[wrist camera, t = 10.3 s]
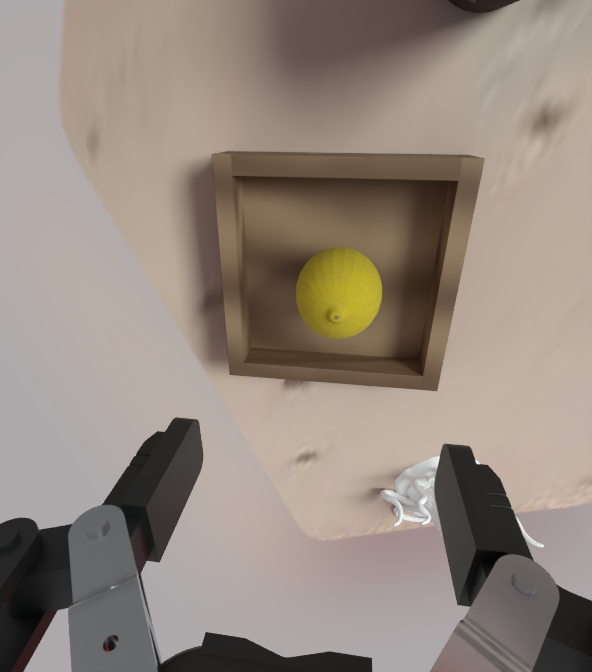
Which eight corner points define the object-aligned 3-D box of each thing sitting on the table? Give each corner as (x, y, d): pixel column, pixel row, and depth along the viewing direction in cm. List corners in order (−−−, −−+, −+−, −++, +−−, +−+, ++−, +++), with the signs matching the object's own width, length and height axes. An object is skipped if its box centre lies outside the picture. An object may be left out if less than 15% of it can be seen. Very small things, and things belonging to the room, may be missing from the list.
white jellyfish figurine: (370, 473, 40) (374, 563, 32) (494, 436, 36) (536, 528, 28) (406, 530, 43) (418, 626, 35) (523, 502, 39) (569, 602, 31)
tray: (227, 151, 28) (211, 154, 25) (469, 155, 26) (484, 158, 23) (240, 353, 35) (229, 374, 32) (429, 366, 33) (436, 390, 30)
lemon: (311, 312, 31) (298, 365, 24) (296, 242, 29) (277, 278, 22) (383, 301, 30) (392, 354, 23) (373, 228, 28) (380, 261, 21)
